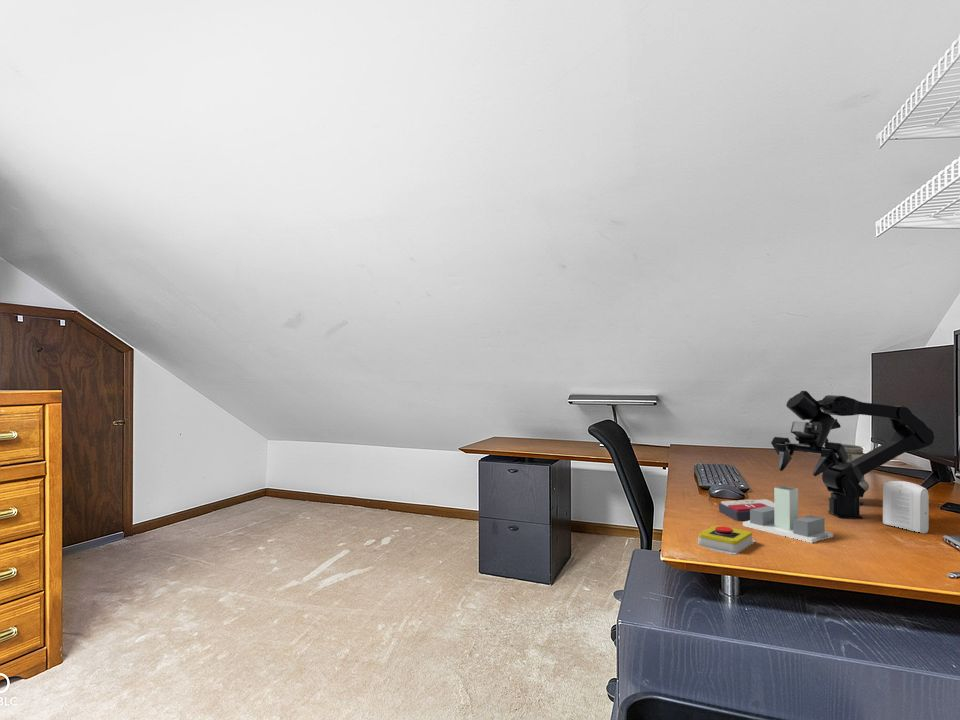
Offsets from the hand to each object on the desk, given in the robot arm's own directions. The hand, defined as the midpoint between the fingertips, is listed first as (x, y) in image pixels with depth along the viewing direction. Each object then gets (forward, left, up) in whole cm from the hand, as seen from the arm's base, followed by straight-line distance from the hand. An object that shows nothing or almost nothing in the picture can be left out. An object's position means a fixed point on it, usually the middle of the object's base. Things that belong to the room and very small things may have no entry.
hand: (796, 472), depth 156 cm
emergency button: (+26, +23, -14) cm, 38 cm away
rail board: (+7, +10, -14) cm, 18 cm away
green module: (+7, +10, -12) cm, 17 cm away
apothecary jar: (-27, -28, -14) cm, 41 cm away
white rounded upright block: (-26, +3, -14) cm, 30 cm away
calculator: (+10, -6, -14) cm, 18 cm away
